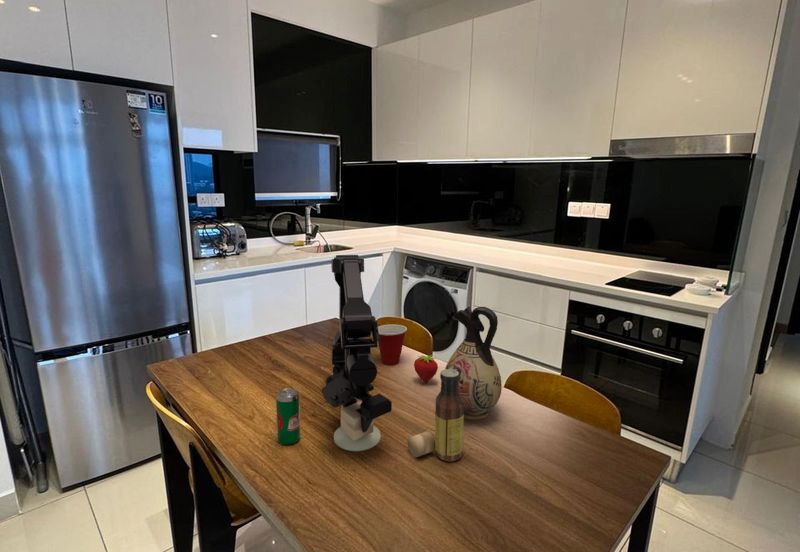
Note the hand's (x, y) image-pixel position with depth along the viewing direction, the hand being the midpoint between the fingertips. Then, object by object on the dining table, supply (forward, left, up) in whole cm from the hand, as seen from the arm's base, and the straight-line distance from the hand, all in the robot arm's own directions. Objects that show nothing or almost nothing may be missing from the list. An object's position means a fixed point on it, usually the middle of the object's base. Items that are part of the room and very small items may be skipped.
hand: (357, 426), depth 100 cm
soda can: (+13, -9, -3) cm, 16 cm away
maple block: (0, 0, -1) cm, 1 cm away
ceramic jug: (-30, +10, -3) cm, 32 cm away
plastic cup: (-33, -28, -3) cm, 43 cm away
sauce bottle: (-12, +18, -3) cm, 22 cm away
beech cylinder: (-5, +14, -1) cm, 15 cm away
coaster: (0, 0, -3) cm, 3 cm away
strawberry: (-32, -10, -3) cm, 34 cm away
